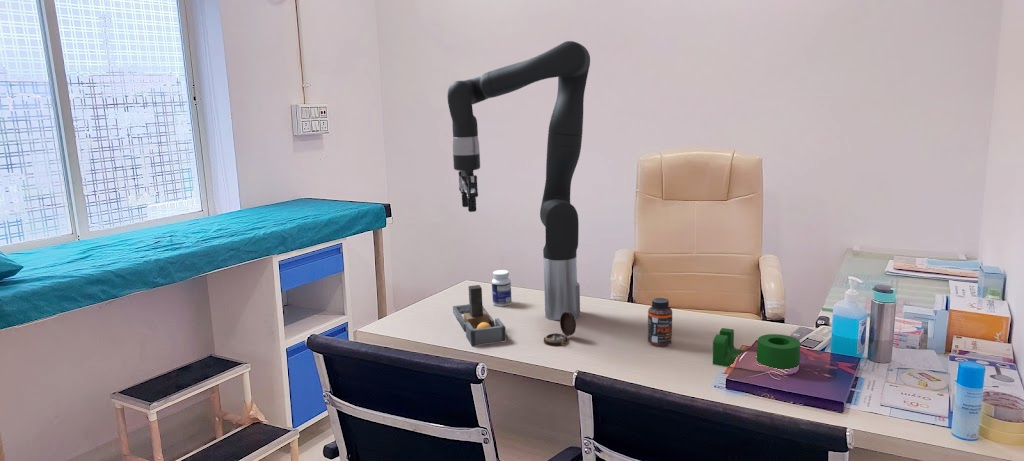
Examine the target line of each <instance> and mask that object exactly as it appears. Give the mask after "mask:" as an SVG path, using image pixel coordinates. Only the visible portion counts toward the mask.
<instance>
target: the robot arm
mask: <svg viewBox="0 0 1024 461" xmlns="http://www.w3.org/2000/svg"><path fill="white" fill-rule="evenodd" d="M590 66H591V56H590V52H589V50H588V49H587V48H586V47H585V46H584V45H582V44H581V43H579V42H577V41H572V40H569V41H568V40H567V41H564V42H562V43H560V44H559V45H557V46H554V47H553V48H551V49H549V50H547V51H545V52H542V53H541V54H539V55H536V56H534V57H531V58H529V59H526V60H523V61H520V62H516V63H513V64H509V65H506V66H502V67H500V68H496V69H493V70H490V71H488V72H484V73H483V74H482V75H481V76H477V77H473V78H469V79H466V80H456V81H453V82H452V83H451V84H450V85H449V87H448V90H447V104H448V109H449V114H450V118H451V122H452V158H453V169H454V170H455V171H458V185H459V187H458V188H459V189H458V190H459V191H460V194H461V205H462V207H463V208H467V210H468V212H470V213H473V212H476V211H477V198H478V197H479V192H478V190H479V189H478V176H477V175H476V174H474V171H477V170H479V169H481V154H480V140H479V135H478V134H479V129H478V120H477V117H476V116H475V115H474V112H473V105H475V104H478V103H481V102H484V101H486V100H488V99H492V98H496V97H499V96H502V95H504V96H505V95H507V94H509V93H512V92H515V91H518V90H520V89H522V88H524V87H526V86H529V85H531V84H534V83H537V82H539V81H543V80H546V79H547V80H548V79H552V78H553V79H554V78H557V79H558V80H557V81H558V82H557V96H556V101H555V103H554V107H553V110H552V113H551V116H550V122H549V125H548V131H547V132H548V134H547V143H546V144H547V146H546V147H547V148H546V162H545V163H546V164H545V167H546V168H545V183H544V188H543V189H544V190H543V195H542V199H541V206H540V212H539V218H540V220H541V221H540V222H541V223H542V225H543V226H544V227H545V244H544V247H543V249H542V251H543V252H542V253H543V255H542V256H543V283H544V284H543V286H544V313H545V317H546V318H547V319H549V320H554V321H560V318H561V315H562V314H563V313H564V312H570V313H572V314H573V316H574V318H577V317H581V296H580V294H581V292H580V291H581V289H580V283H579V282H578V270H577V269H578V267H577V264H578V262H577V255H578V254H577V252H578V251H577V250H578V248H579V228H580V227H579V226H580V225H579V214H578V211H577V209H576V207H575V206H574V205H573V204H572V203H571V189H572V188H571V186H572V180H573V177H574V173H575V170H576V167H577V165H578V163H579V159H580V156H581V155H580V154H581V149H582V141H583V131H584V129H583V128H584V98H585V91H586V86H587V80H588V76H589V70H590Z"/></svg>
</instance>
